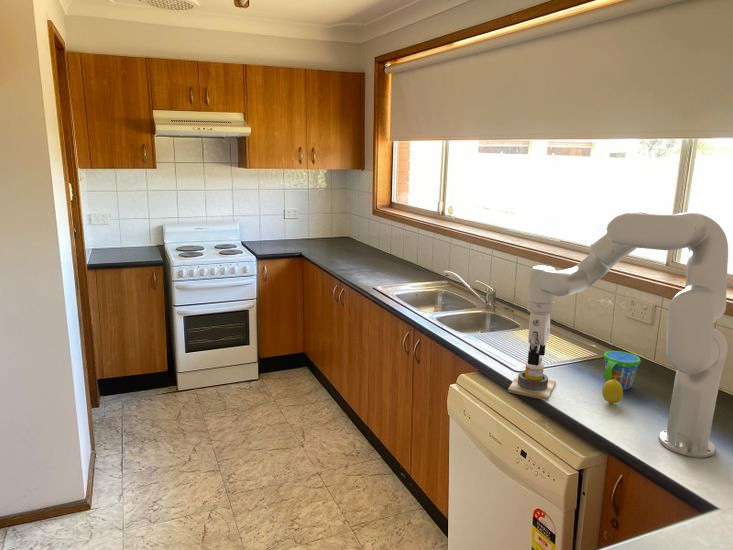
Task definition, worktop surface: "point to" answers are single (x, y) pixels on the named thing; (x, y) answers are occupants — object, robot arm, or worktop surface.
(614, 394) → the lemon
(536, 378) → the supplement bottle
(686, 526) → the worktop surface
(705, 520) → the worktop surface
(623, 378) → the snack cup
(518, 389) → the collar board
